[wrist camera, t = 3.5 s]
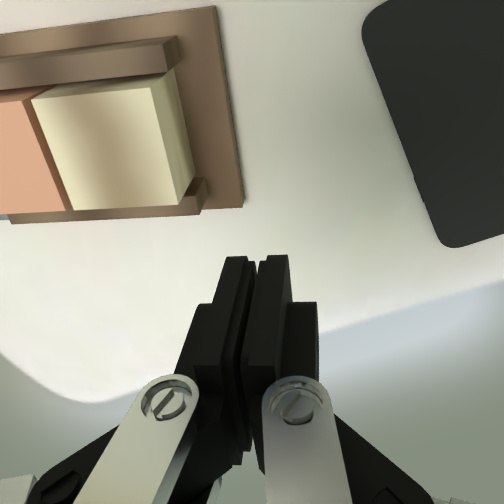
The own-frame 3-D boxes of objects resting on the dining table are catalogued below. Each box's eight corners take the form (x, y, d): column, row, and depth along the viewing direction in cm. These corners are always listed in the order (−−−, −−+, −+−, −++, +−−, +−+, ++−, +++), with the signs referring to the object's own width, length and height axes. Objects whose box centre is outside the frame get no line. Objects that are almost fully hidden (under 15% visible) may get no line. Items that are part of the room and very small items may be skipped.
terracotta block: (61, 79, 25) (21, 100, 21) (95, 179, 28) (65, 210, 25) (-35, 90, 26) (-86, 111, 23) (9, 185, 29) (-30, 215, 26)
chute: (215, 5, 23) (199, 14, 20) (244, 199, 29) (235, 228, 26) (-162, 55, 27) (-220, 69, 24) (-66, 216, 33) (-104, 243, 30)
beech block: (173, 67, 24) (149, 87, 20) (195, 172, 27) (178, 204, 24) (69, 78, 25) (30, 99, 21) (102, 179, 28) (74, 210, 25)
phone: (518, -71, 19) (575, 210, 26) (511, -70, 20) (568, 204, 26) (353, 20, 22) (443, 253, 29) (352, 18, 23) (440, 246, 29)
